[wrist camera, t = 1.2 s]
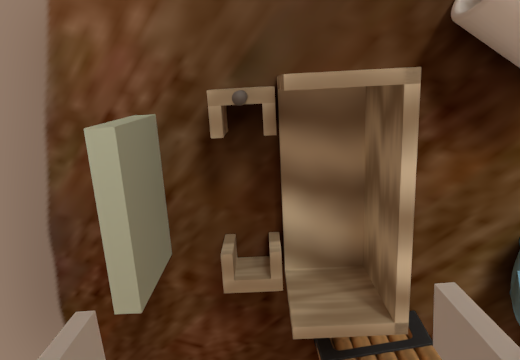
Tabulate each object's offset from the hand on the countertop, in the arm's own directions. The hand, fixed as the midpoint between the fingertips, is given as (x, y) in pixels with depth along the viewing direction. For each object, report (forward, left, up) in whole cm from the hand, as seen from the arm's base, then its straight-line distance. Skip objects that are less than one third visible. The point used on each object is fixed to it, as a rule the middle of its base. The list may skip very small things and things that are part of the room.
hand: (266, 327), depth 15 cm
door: (0, -10, -22) cm, 24 cm away
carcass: (0, +3, -22) cm, 22 cm away
